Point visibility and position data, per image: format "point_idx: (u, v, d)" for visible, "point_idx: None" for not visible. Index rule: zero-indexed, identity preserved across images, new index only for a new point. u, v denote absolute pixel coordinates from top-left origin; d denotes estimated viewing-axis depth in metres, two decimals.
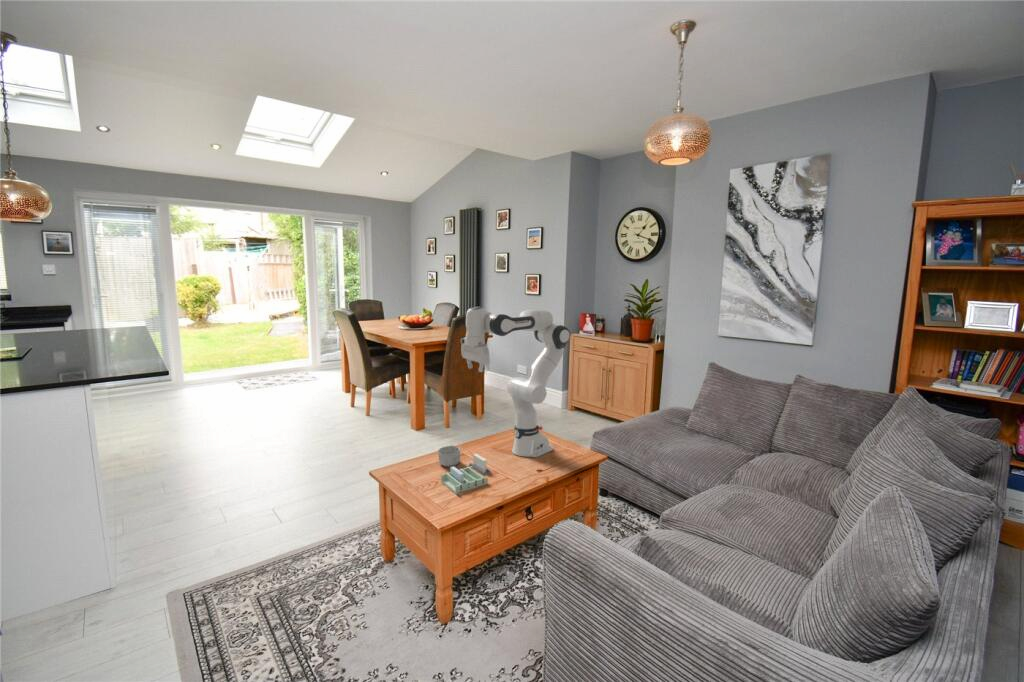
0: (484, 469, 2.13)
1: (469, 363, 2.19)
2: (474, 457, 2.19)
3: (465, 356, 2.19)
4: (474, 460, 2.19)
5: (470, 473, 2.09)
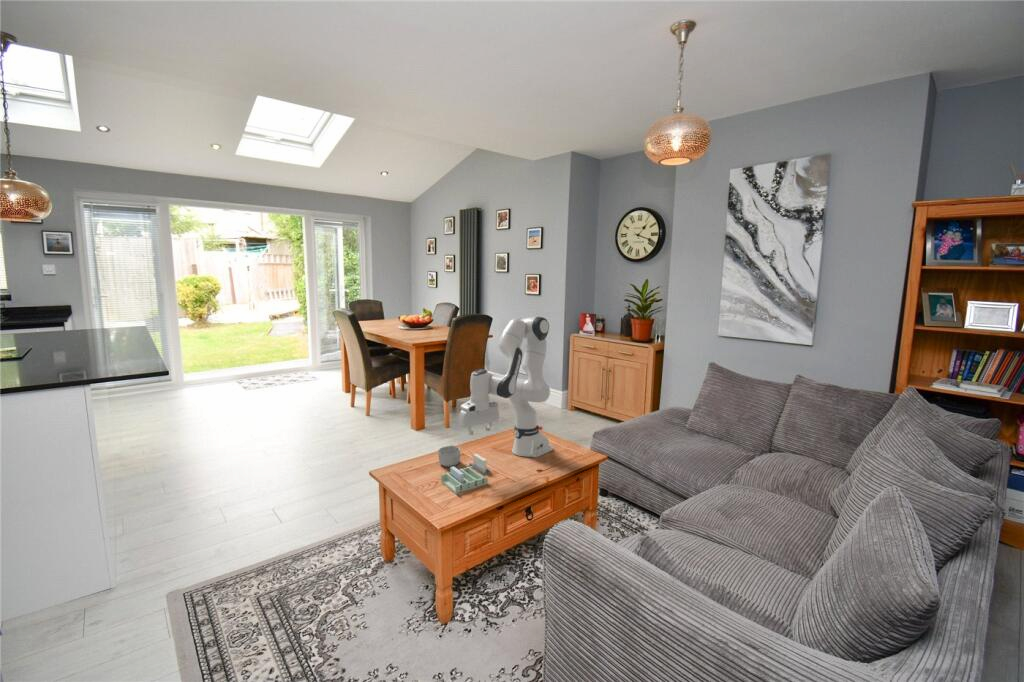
0: (484, 469, 2.13)
1: None
2: (474, 457, 2.19)
3: (470, 424, 2.09)
4: (474, 460, 2.19)
5: (470, 473, 2.09)
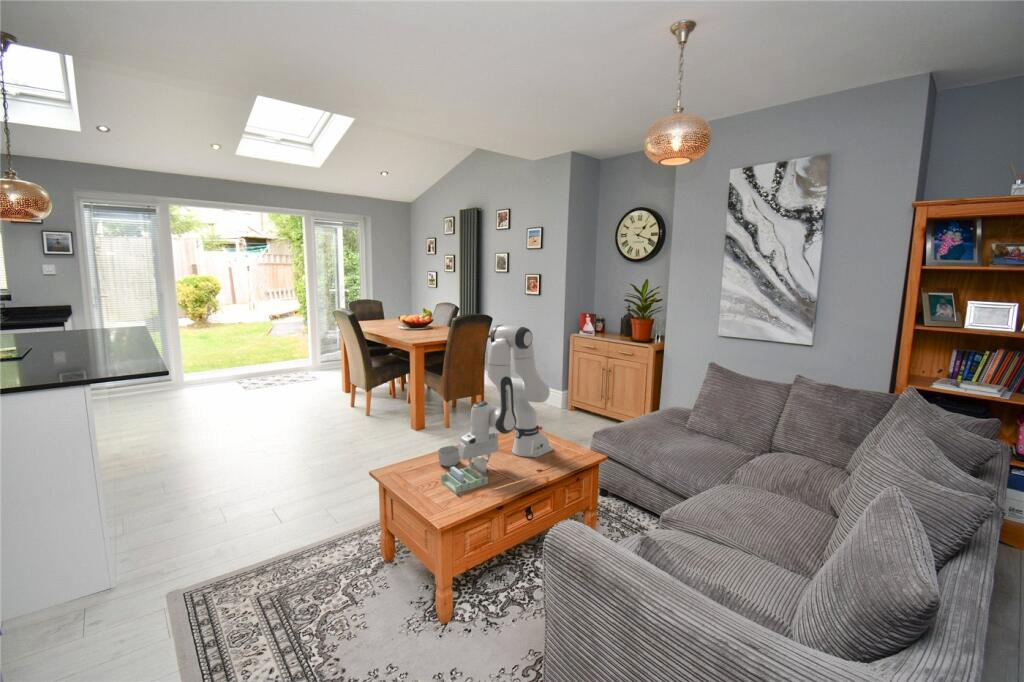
0: (484, 469, 2.13)
1: None
2: (474, 457, 2.19)
3: (470, 456, 2.10)
4: (474, 460, 2.19)
5: (470, 473, 2.09)
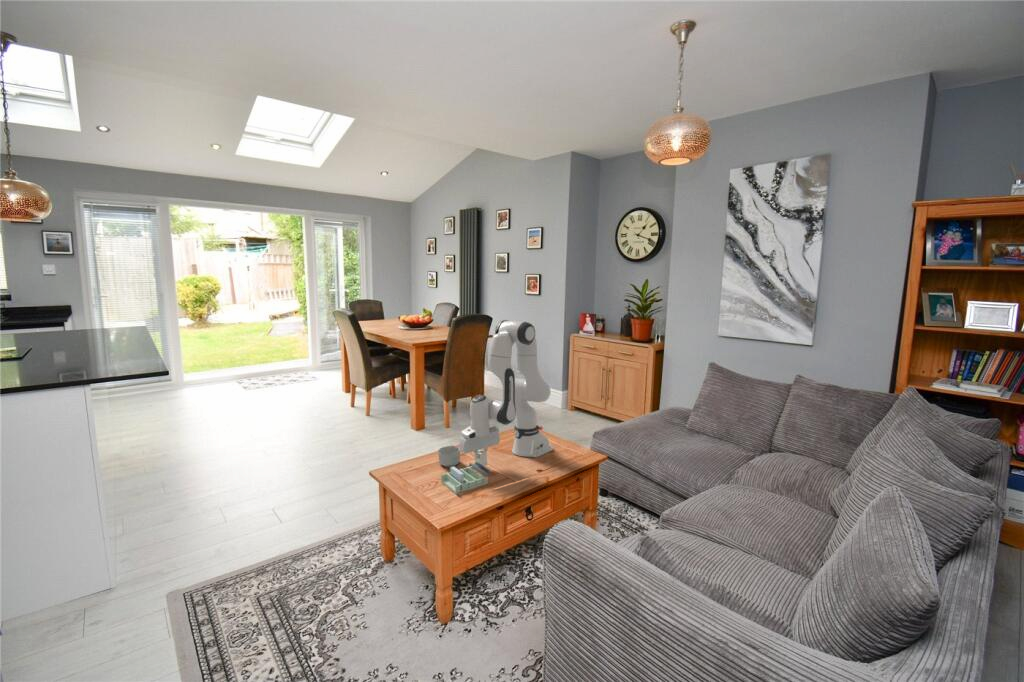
0: (485, 462, 2.14)
1: None
2: None
3: (470, 450, 2.11)
4: None
5: (470, 473, 2.09)
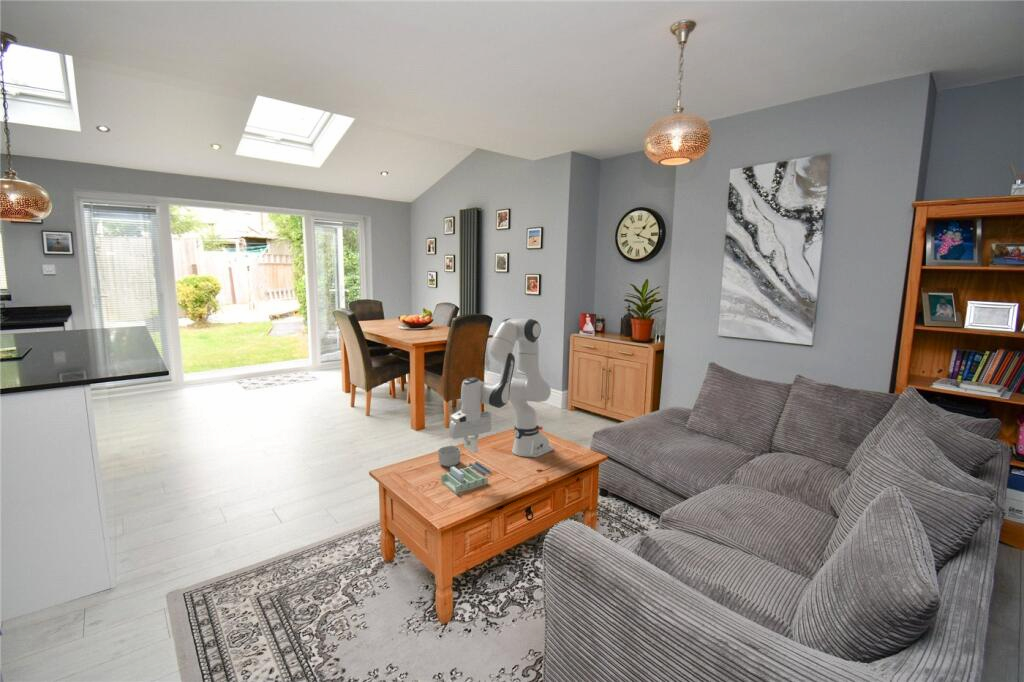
0: (475, 449, 1.99)
1: None
2: None
3: (460, 435, 1.97)
4: None
5: (470, 473, 2.09)
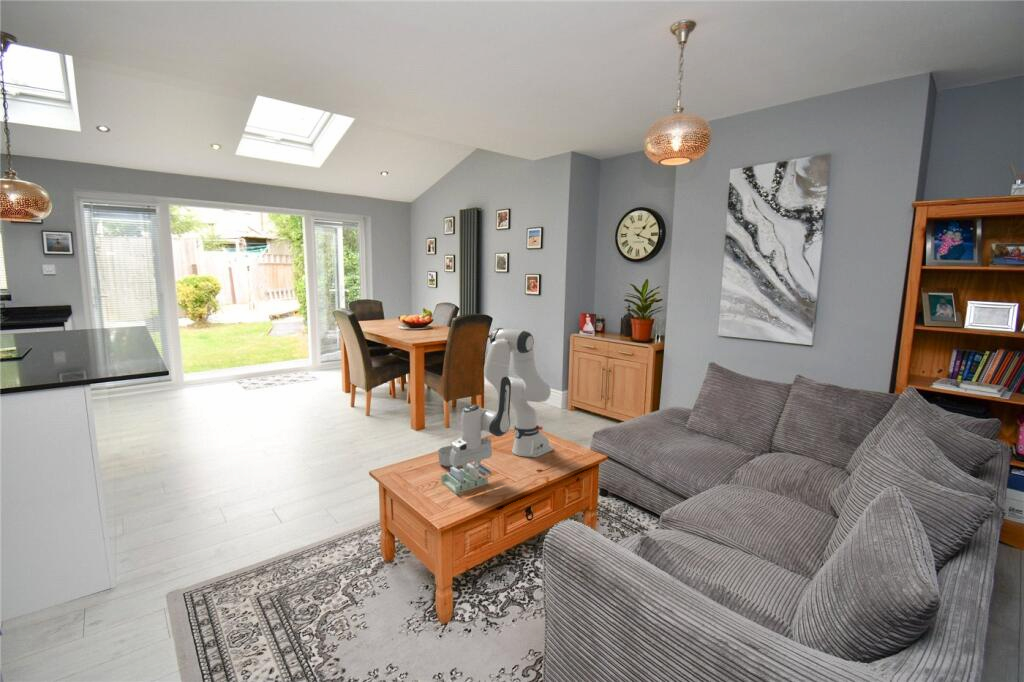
0: (476, 479, 2.01)
1: None
2: (466, 466, 2.07)
3: (461, 463, 1.99)
4: None
5: None
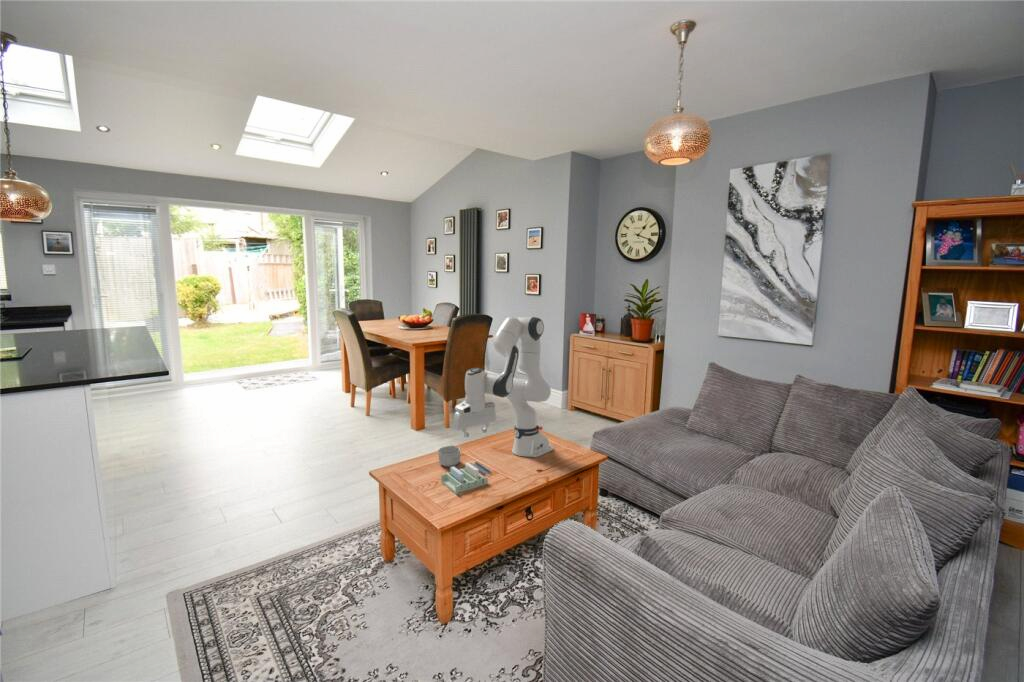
0: (476, 479, 2.01)
1: None
2: (466, 466, 2.07)
3: (465, 426, 1.98)
4: (465, 470, 2.07)
5: None
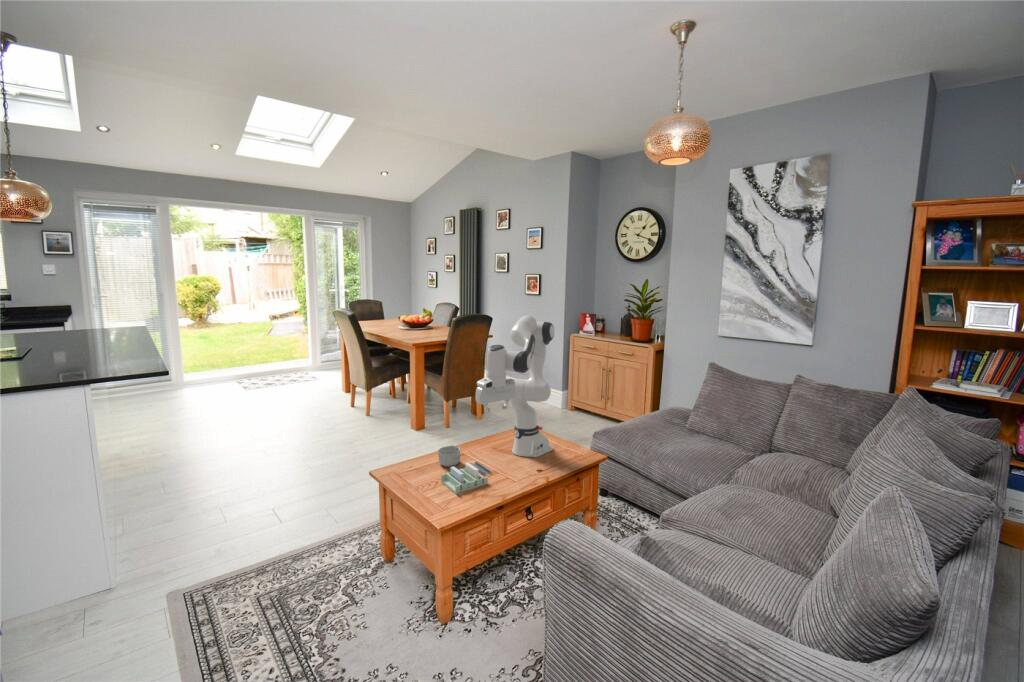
0: (476, 479, 2.01)
1: None
2: (466, 466, 2.07)
3: (486, 401, 2.03)
4: (465, 470, 2.07)
5: None
